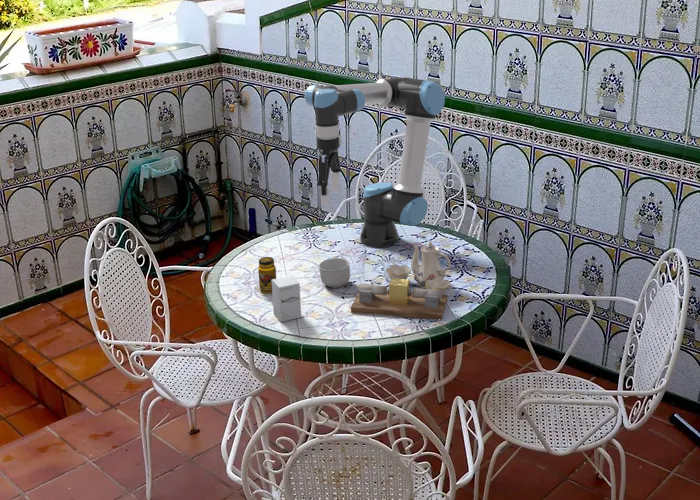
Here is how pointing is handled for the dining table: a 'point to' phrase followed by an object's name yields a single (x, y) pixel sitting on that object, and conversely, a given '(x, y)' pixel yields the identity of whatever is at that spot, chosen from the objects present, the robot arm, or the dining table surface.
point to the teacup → (334, 272)
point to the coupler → (399, 291)
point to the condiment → (266, 275)
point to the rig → (419, 305)
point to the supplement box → (286, 298)
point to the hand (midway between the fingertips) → (330, 197)
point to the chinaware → (424, 269)
